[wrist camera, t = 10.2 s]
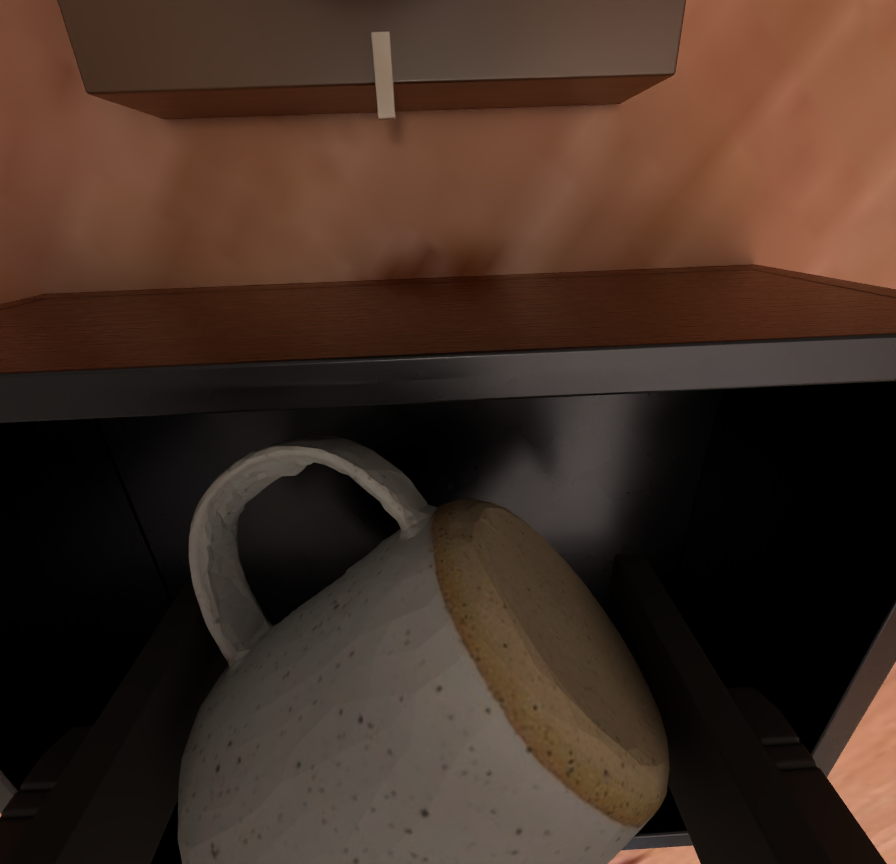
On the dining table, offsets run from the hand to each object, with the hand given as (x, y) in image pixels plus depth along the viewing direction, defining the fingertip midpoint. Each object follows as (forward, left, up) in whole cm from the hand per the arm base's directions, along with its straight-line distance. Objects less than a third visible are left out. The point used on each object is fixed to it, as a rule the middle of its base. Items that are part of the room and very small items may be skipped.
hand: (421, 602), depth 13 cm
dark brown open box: (0, 0, -5) cm, 5 cm away
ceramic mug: (-1, 0, -1) cm, 2 cm away
